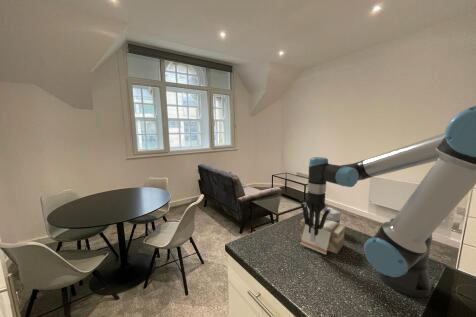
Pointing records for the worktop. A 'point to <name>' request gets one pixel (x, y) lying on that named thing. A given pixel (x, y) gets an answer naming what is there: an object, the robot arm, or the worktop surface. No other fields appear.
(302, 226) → the ticket block
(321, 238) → the stub
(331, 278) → the worktop surface
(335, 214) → the ink box
